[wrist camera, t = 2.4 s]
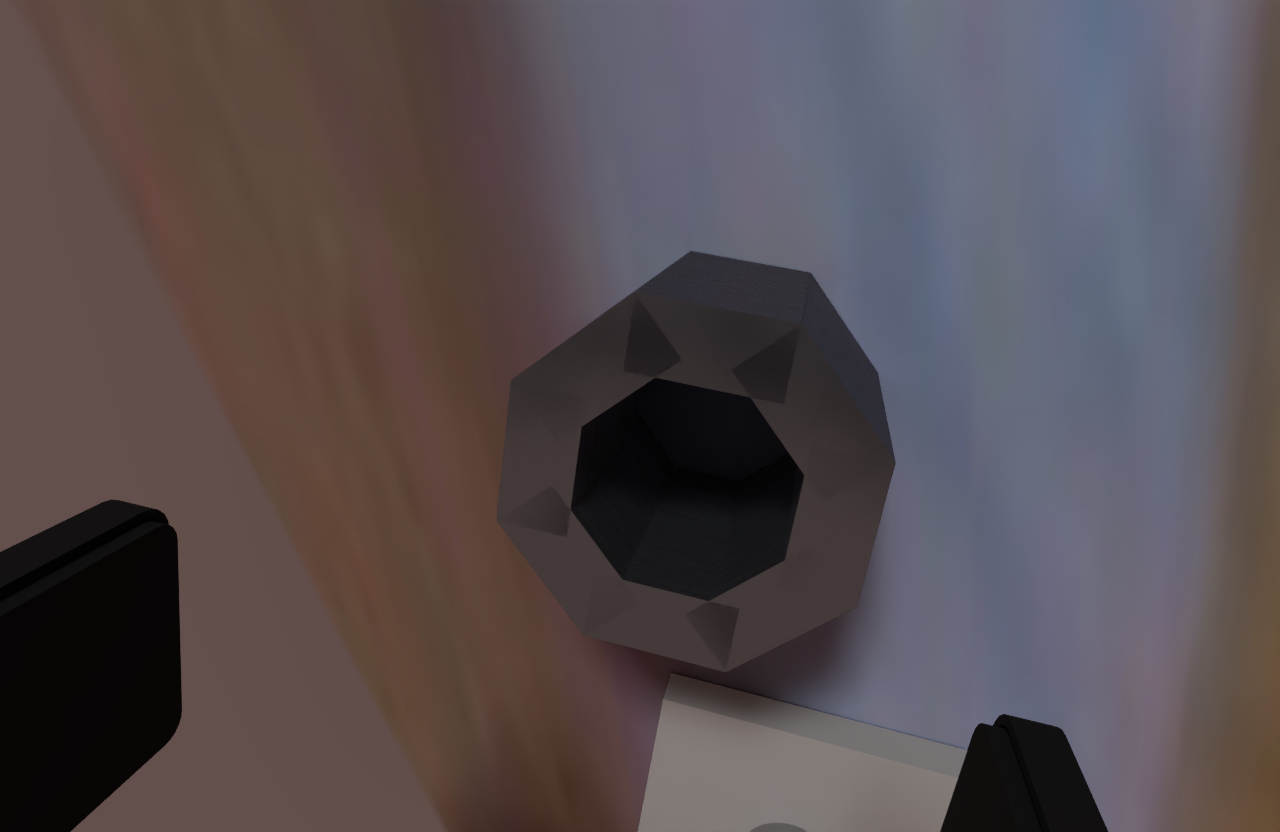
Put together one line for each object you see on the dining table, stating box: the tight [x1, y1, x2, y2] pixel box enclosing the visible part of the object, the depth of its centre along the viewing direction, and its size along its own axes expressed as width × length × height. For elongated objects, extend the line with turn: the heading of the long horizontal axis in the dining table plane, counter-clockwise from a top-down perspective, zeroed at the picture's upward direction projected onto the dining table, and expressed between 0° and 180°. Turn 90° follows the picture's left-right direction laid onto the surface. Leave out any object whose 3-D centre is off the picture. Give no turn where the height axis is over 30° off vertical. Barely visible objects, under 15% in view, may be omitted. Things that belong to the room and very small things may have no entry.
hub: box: [497, 251, 896, 672], centre depth 18 cm, size 7×7×6 cm
